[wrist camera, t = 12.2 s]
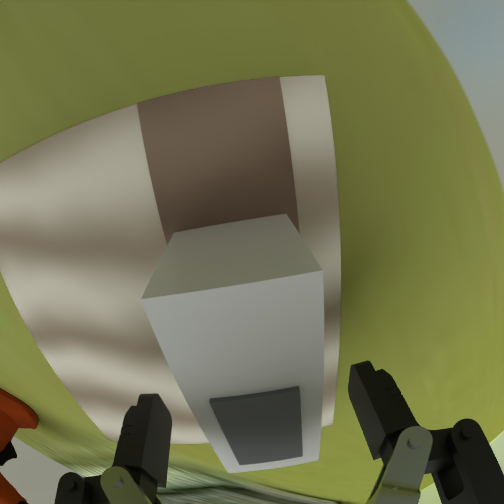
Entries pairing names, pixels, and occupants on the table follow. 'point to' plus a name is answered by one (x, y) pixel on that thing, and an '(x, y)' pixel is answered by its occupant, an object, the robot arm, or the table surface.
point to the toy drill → (3, 429)
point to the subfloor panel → (159, 226)
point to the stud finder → (245, 338)
